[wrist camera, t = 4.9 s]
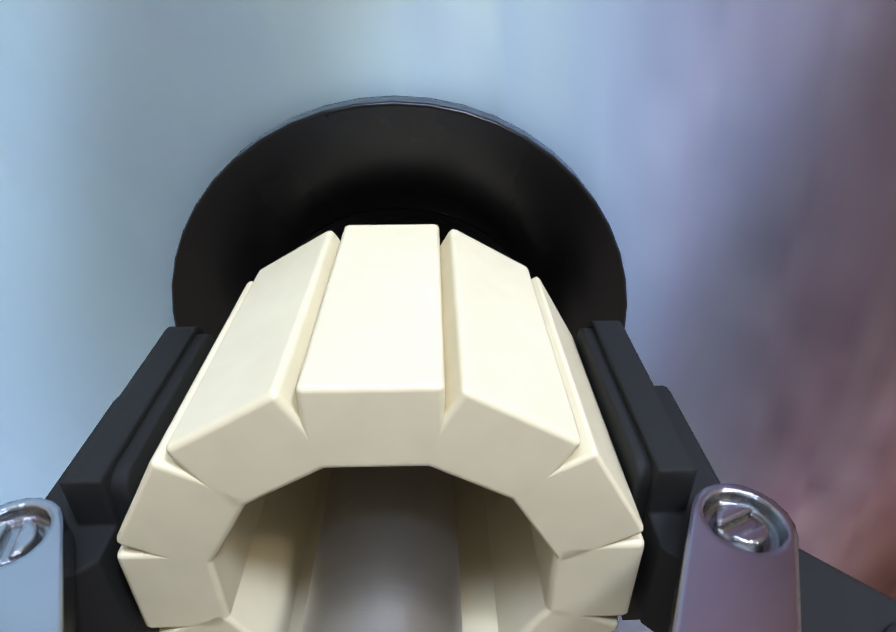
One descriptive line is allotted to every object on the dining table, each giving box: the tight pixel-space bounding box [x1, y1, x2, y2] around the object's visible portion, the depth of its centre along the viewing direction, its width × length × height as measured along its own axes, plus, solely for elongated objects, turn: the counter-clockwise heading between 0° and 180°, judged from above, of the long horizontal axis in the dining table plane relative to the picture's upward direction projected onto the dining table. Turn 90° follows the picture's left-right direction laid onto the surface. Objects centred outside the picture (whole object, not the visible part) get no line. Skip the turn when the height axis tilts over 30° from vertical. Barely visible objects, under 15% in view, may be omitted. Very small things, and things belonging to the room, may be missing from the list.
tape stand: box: [172, 96, 627, 632], centre depth 10 cm, size 10×10×8 cm
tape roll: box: [117, 224, 645, 632], centre depth 10 cm, size 7×7×4 cm
